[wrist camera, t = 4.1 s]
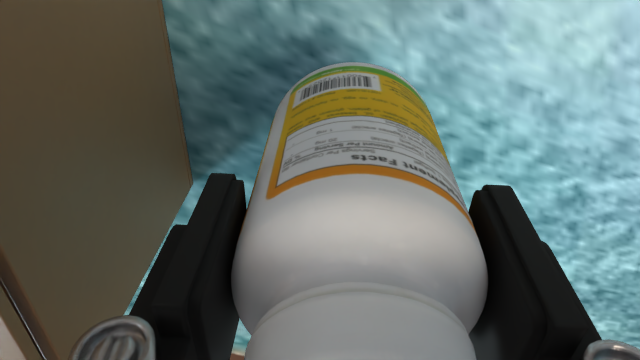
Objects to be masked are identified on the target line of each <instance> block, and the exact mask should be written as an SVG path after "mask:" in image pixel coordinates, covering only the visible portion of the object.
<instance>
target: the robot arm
mask: <svg viewBox="0 0 640 360" xmlns="http://www.w3.org/2000/svg"><path fill="white" fill-rule="evenodd" d="M246 211H247V210H246V199H245V189H244V182H243V180H236V176H235V174H222V173H211V174H210V176H209V178H208V180H207V182H206V185H205V187H204V189H203V191H202V194H201V196H200V198H199V200H198V202H197V205H196V207H195V209H194V211H193V213H192V216H191V218H190V220H189V222H188V224H187V225H177V224H176V225H175V226H173V228H172V229H171V231H170V233H169V235H168V237H167V239H166V241H165V243H164V245H163V247H162V249H161V251H160V253H159V255H158V257H157V259H156V261H155V263H154V265H153V267H152V269H151V271H150V273H149V275H148V277H147V279H146V281H145V283H144V285H143V287H142V289H141V291H140V293H139V295H138V298H137V300H136V302H135V304H134V306H133V308H132V310H131V312H130V314H129V315H124V316H115V317H112V318H109V319H106V320H103V321H101V322H99V323H98V324H96V325H94V326H92V327H91V328H89V329H88V330H87V331H86V332H85V333H84V334H82V335H81V336H80V337H79V339H78V340H77V341H76V343H75V344H74V345H73V347H72V349H71V351H70V354H69V357H68V360H230V355H231V352H232V347H233V343H234V339H235V335H236V330H237V326H238V322H239V318H240V317H239V315H238V312H237V310H236V307H235V304H234V300H233V296H232V288H231V271H232V263H233V259H234V255H235V250H236V245H237V241H238V238H239V234H240V231H241V227H242V224H243V221H244V217H245V214H246ZM468 213H469V216H470V218H471V220H472V223H473V226H474V228H475V231H476V234H477V236H478V239H479V242H480V245H481V248H482V251H483V254H484V257H485V261H486V265H487V271H488V291H487V298H486V302H485V305H484V308H483V311H482V313H481V315H480V317H479V319H478V321H477V323H476V325H475V326H474V327H473V329H472V330H471V332H470V333H469V334H468V336H469V338H470V340H471V342H472V344H473V347H474V351H475V356H476V360H640V349H638V348H636V347H634V346H631V345H629V344H626V343H624V342H620V341H615V340H602V339H601V337H600V335H599V334H598V332H597V330H596V328H595V326H594V325H593V323H592V321H591V319H590V318H589V316H588V314H587V312H586V311H585V309H584V307H583V305H582V303H581V302H580V300H579V298H578V296H577V295H576V293H575V291H574V289H573V288H572V286H571V284H570V282H569V280H568V279H567V277H566V275H565V273H564V272H563V270H562V268H561V266H560V265H559V263H558V261H557V259H556V257H555V256H554V254H553V252H552V250H551V249H550V247H549V246H548V245H547V243H545V242H543V241H541V240H540V238H539V236H538V234H537V233H536V231H535V229H534V227H533V225H532V224H531V222H530V220H529V218H528V216H527V214H526V213H525V211H524V209H523V207H522V205H521V204H520V202H519V200H518V198H517V196H516V194H515V193H514V191H513V189H512V188H511V187H510V186H504V185H484V186H483V188H482V190H476V191H475V192H474V195H473V198H472V202H471V205H470V209H469V212H468Z"/></svg>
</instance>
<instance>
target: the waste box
mask: <svg viewBox="0 0 640 360" xmlns="http://www.w3.org/2000/svg"><path fill="white" fill-rule="evenodd" d="M192 185H193V180H192V174H191V168H190V163H189V157H188V151H187V145H186V139H185V133H184V128H183V122H182V116H181V110H180V104H179V98H178V93H177V87H176V81H175V75H174V69H173V63H172V58H171V52H170V46H169V40H168V34H167V28H166V23H165V17H164V11H163V5H162V0H0V360H68V357H69V354H70V351H71V349H72V347H73V345H74V344H75V343H76V341H77V340H78V339H79V337H80V336H81V335H82V334H84V333H85V332H86V331H87V330H88V329H89V328H91V327H92V326H94V325H96V324H98V323H99V322H101V321H103V320H106V319H109V318H112V317H115V316H123V315H124V313H125V311H126V309H127V307H128V306H129V304H130V302H131V300H132V298H133V296H134V294H135V292H136V290H137V289H138V287H139V285H140V283H141V281H142V279H143V277H144V275H145V273H146V272H147V270H148V268H149V266H150V264H151V262H152V260H153V258H154V256H155V255H156V253H157V251H158V249H159V247H160V245H161V243H162V241H163V240H164V238H165V236H166V234H167V232H168V230H169V228H170V226H171V224H172V223H173V221H174V219H175V217H176V215H177V213H178V211H179V209H180V207H181V206H182V204H183V202H184V200H185V198H186V196H187V194H188V192H189V190H190V188H191V187H192Z"/></svg>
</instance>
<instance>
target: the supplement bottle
mask: <svg viewBox="0 0 640 360" xmlns="http://www.w3.org/2000/svg"><path fill="white" fill-rule="evenodd" d="M231 288H232V296H233V300H234V304H235V307H236V310H237V312H238V315H239V317H240V319H241V321H242V323H243V324H244V326H245V328H246V329H247V330H248V332H249V333H250V334H251V335H252V336H251V339H250V341H249V342H248V345H247V348H246V352H245V358H244V360H476V356H475V351H474V347H473V344H472V342H471V340H470V338H469V336H468V334H469V333H470V332H471V330H472V329H473V327H474V326H475V325H476V323H477V321H478V319H479V317H480V315H481V313H482V311H483V308H484V305H485V302H486V298H487V291H488V271H487V265H486V261H485V257H484V254H483V251H482V248H481V245H480V242H479V239H478V236H477V234H476V231H475V228H474V226H473V223H472V220H471V218H470V216H469V213H468V210H467V208H466V205H465V203H464V200H463V198H462V195H461V193H460V190H459V187H458V185H457V182H456V180H455V177H454V175H453V172H452V170H451V167H450V164H449V162H448V159H447V156H446V154H445V151H444V148H443V146H442V143H441V141H440V138H439V135H438V132H437V130H436V127H435V124H434V122H433V119H432V117H431V114H430V112H429V110H428V108H427V106H426V104H425V102H424V100H423V99H422V97H421V96H420V94H419V93H418V92H417V90H416V89H415V88H414V87H413V86H412V85H411V84H410V83H409V82H408V81H407V80H405V79H404V78H403V77H401V76H400V75H398V74H397V73H395V72H393V71H391V70H389V69H386V68H383V67H381V66H377V65H373V64H368V63H359V62H346V63H338V64H333V65H329V66H326V67H323V68H320V69H318V70H316V71H313V72H312V73H310V74H308V75H306V76H305V77H304V78H302V79H301V80H300V81H298V82H297V83H296V84H295V85H294V86H293V87H292V88H291V89H290V90H289V91H288V92H287V94H286V95H285V96H284V98H283V99H282V101H281V102H280V104H279V106H278V108H277V111H276V113H275V116H274V119H273V121H272V125H271V128H270V132H269V135H268V139H267V142H266V146H265V149H264V153H263V156H262V160H261V163H260V167H259V170H258V174H257V177H256V180H255V184H254V187H253V191H252V194H251V197H250V201H249V204H248V208H247V211H246V214H245V217H244V221H243V224H242V227H241V231H240V234H239V238H238V241H237V245H236V250H235V255H234V259H233V263H232V271H231Z"/></svg>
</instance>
